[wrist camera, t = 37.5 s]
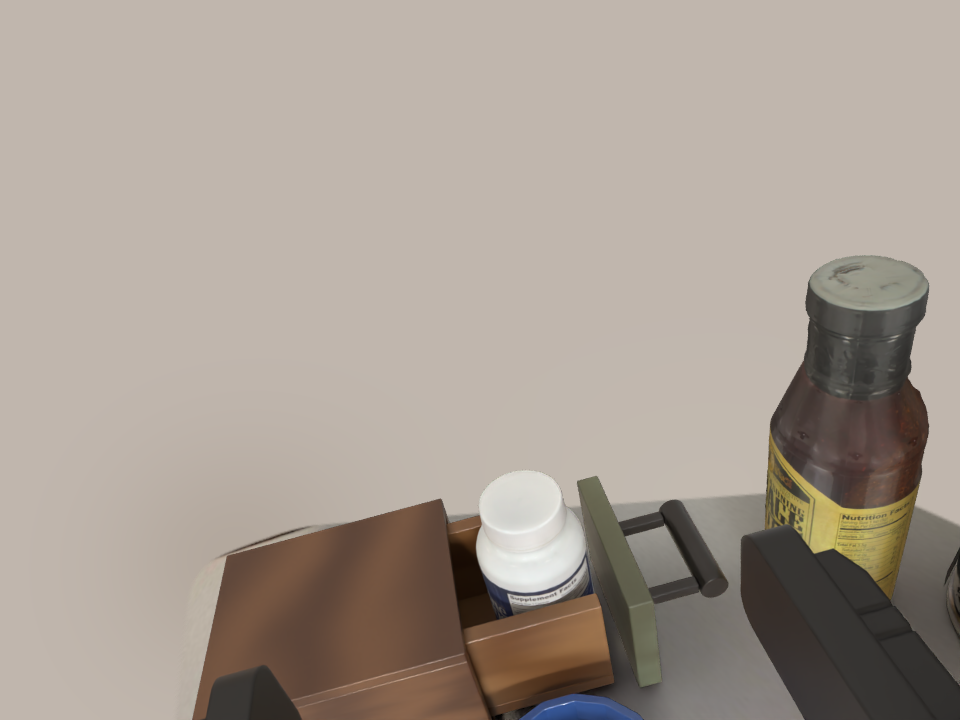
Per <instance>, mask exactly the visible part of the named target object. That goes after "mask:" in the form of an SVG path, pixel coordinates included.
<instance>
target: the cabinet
mask: <svg viewBox="0 0 960 720" xmlns="http://www.w3.org/2000/svg"><path fill="white" fill-rule="evenodd" d="M447 524H449V520H448V517H447V514H446V511H445V508H444V505H443V502H442V500H441V499H437V500H434V501H430V502H427V503H422V504H419V505H415V506H411V507H408V508H404V509H400V510H396V511H393V512H389V513H385V514H381V515H378V516H374V517H370V518H367V519H363V520H359V521H355V522H352V523H348V524H344V525H340V526H337V527H333V528H329V529H325V530H322V531H318V532H314V533H311V534H307V535H303V536H299V537H296V538H292V539H288V540H284V541H281V542H277V543H273V544H270V545H266V546H262V547H258V548H255V549H251V550H247V551H243V552H240V553H236V554H232V555H229V556H227V558H226V563H225V568H224V573H223V577H222V582H221V587H220V591H219V596H218V601H217V605H216V610H215V615H214V620H213V624H212V629H211V634H210V638H209V643H208V648H207V653H206V657H205V662H204V667H203V671H202V676H201V681H200V686H199V690H198V695H197V700H196V704H195V709H194V714H193V719H192V720H200V719H204V718H206V713H207V708H208V703H209V698H210V693H211V689H212V686H213V684H214V682H215V680H216V679H217V678H219V677H221V676H224V675H228V674H232V673H235V672H239V671H243V670H246V669H250V668H254V667H257V666H261V665H266V666H267V667H268V668H269V669H270V670H271V672H272V673H273V674H274V676H275V677H276V679H277V680H278V682H279V683H280V685H281V686H282V688H283V689H284V691H285V692H286V694H287V695H288V697H289V698H290V700H291V701H292V702H293V704H294V705H295V707H296V708H297V710H298V712H299V714H300V716H301V719H302V720H495V716H492V717H491V716H490V713H489V710H488V708H487V705H486V702H485V700H484V697H483V694H482V692H481V689H480V686H479V684H478V681H477V678H476V675H475V673H474V670H473V667H472V665H471V662H470V659H469V657H468V654H467V652H466V647H465V640H464V634H463V627H462V621H461V614H460V608H459V601H458V595H457V588H456V582H455V575H454V569H453V562H452V556H451V549H450V543H449V536H448V530H447Z"/></svg>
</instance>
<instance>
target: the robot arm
mask: <svg viewBox="0 0 960 720" xmlns="http://www.w3.org/2000/svg"><path fill="white" fill-rule="evenodd" d="M957 560H958V562H957ZM956 562H957V565H956V566H955V568H954V570H953V572H952V575H951V578H950V582H949V586H948V590H947V607H948V612H949V615H950V618H951V621H952V623H953V626H954V628H955V630H956V631H957V633H958V635H959V636H960V548H959V550H958V552H957V554H956V556H955V558H954V560H953V562H952V564H951V566H950V567H949V569H948V572H947V575H946V579H945V583H946V581H947V579H948V577H949V575H950V573H951V571H952V569H953V567H954V565H955V564H956ZM945 583H944V585H945ZM741 597H742V602H743V605H744V609H745V612H746V614H747V617H748V619H749V622H750V624H751V626H752V628H753V630H754V632H755V633H756V635H757V637H758V639H759V640H760V642H761V644H762V646H763V647H764V649H765V651H766V653H767V654H768V656H769V658H770V660H771V661H772V663H773V665H774V667H775V668H776V670H777V672H778V674H779V675H780V677H781V679H782V681H783V682H784V684H785V686H786V687H787V689H788V691H789V693H790V694H791V696H792V698H793V700H794V701H795V703H796V705H797V707H798V708H799V710H800V712H801V714H802V715H803V717H804V719H805V720H960V686H959V685H958V684H957V682H956V681H955V680H954V679H953V677H952V676H951V675H950V674H949V672H948V671H947V670H946V669H945V667H944V666H943V665H942V664H941V662H940V661H939V660H938V659H937V657H936V656H935V655H934V654H933V653H932V651H931V650H930V649H929V648H928V646H927V645H926V644H925V643H924V641H923V640H922V639H921V638H920V636H919V635H918V634H917V633H916V631H912V629H911V627H910V624H909V623H908V622H907V620H906V619H905V618H904V617H903V615H902V614H901V613H900V612H899V610H898V609H897V608H896V607H895V606H894V607H893V606H892V604H891V602H890V599H889V598H888V597H887V595H886V594H885V593H884V592H883V590H882V589H881V588H880V587H879V586H878V584H877V583H876V582H875V581H874V579H873V578H872V577H871V576H870V574H869V573H868V572H867V571H866V570H865V569H863V568H862V567H860V566H859V565H857V564H856V563H854V562H853V561H851V560H850V559H848V558H847V557H845V556H844V555H843V554H841V553H840V552H838V551H837V550H835V549H834V548H833V549H829V550H825V551H822V552H818V553H813V552H812V550H811V549H810V548H809V546H808V545H807V544H806V542H805V541H804V540H803V538H802V537H801V535H800V534H799V533H798V532H797V531H796V530H795V529H794V528H793V527H792V526H791V525H788V524H785V525H781V526H777V527H774V528H770V529H766V530H763V531H759V532H755V533H752V534H748V535H744V536H743V537H742V539H741ZM200 720H302V719H301V716H300V714H299V712H298V710H297V708H296V707H295V705H294V704H293V702H292V701H291V700H290V698H289V697H288V695H287V694H286V692H285V691H284V689H283V688H282V686H281V685H280V683H279V682H278V680H277V679H276V677H275V676H274V674H273V673H272V672H271V670H270V669H269V668H268V667H267V666H266V665H261V666H257V667H254V668H250V669H246V670H243V671H239V672H235V673H232V674H228V675H224V676H221V677H219V678H217V679H216V680H215V682H214V684H213V686H212V689H211V693H210V698H209V703H208V708H207V713H206V718H204V719H200Z"/></svg>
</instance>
